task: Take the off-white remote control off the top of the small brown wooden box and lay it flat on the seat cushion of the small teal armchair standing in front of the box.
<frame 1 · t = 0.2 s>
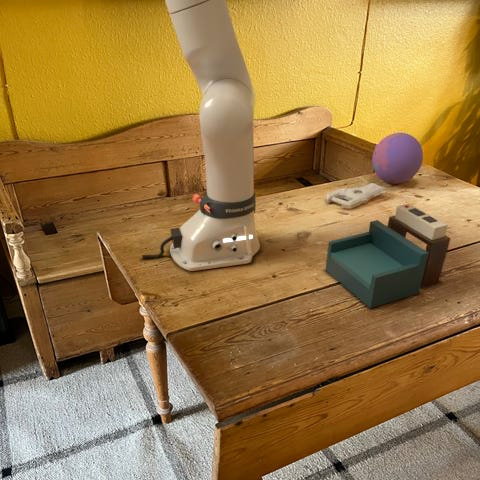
remote: (418, 227, 109), point 11 cm above the table, touching brown wooden box
decorative ball: (392, 182, 159), on the table
brown wooden box: (408, 269, 116), on the table
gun: (354, 200, 148), on the table
teal armchair: (370, 281, 112), on the table
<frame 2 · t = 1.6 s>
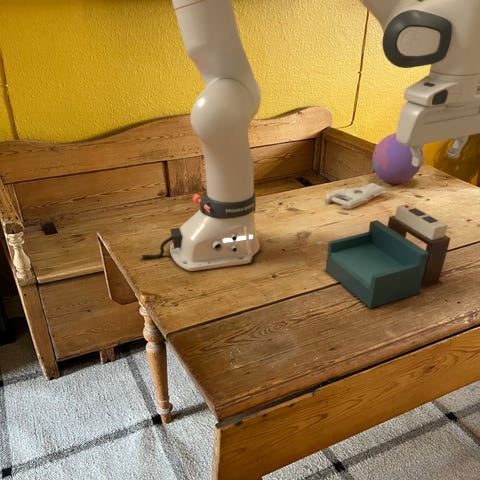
hand: (435, 161, 101), 25 cm above the table, tool pointing down, fingers open, 8 cm apart
nothing on the table moved.
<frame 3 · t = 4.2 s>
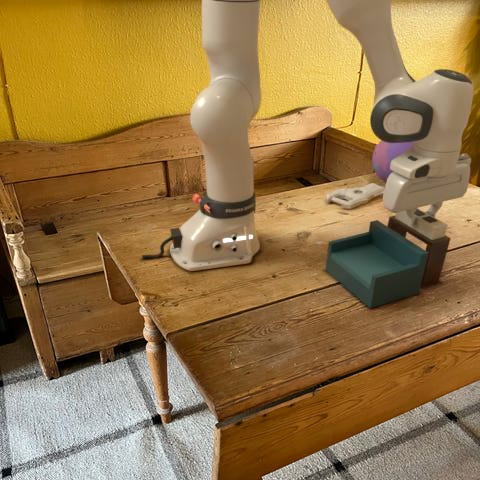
hand: (419, 222, 109), 12 cm above the table, tool pointing down, fingers closed on remote, 3 cm apart
remote: (418, 227, 109), point 11 cm above the table, touching gripper, brown wooden box
everything else where it was.
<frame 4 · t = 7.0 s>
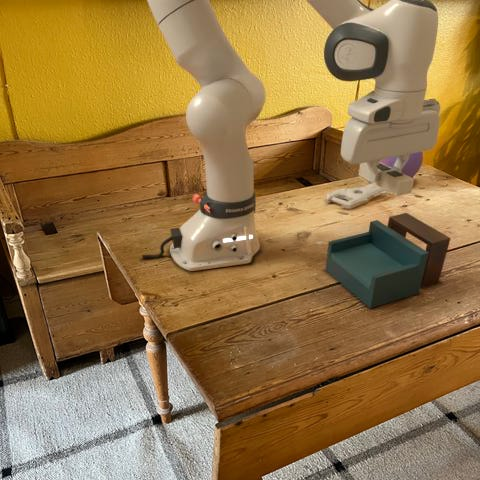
hand: (384, 178, 97), 24 cm above the table, tool pointing down, fingers closed on remote, 3 cm apart
remote: (383, 183, 98), point 23 cm above the table, touching gripper
everything else where it was.
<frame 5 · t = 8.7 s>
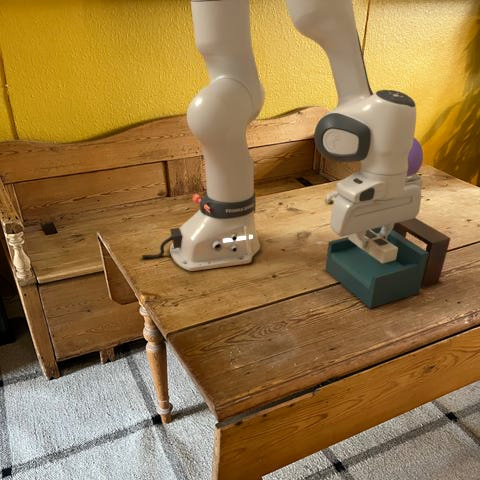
hand: (371, 244, 106), 10 cm above the table, tool pointing down, fingers closed on remote, 3 cm apart
remote: (371, 249, 106), point 9 cm above the table, touching gripper
everything else where it was.
when the fingers open (6 cm above the table, at t = 10.0 s): remote stays where it is, resting on teal armchair.
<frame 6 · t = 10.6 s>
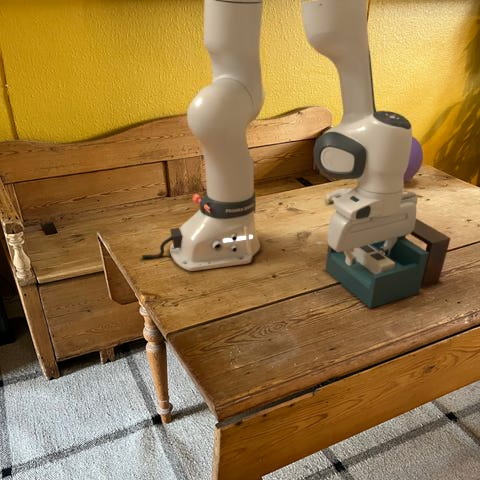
hand: (367, 259, 108), 6 cm above the table, tool pointing down, fingers open, 8 cm apart
remote: (368, 263, 108), point 5 cm above the table, touching teal armchair
everything else where it was.
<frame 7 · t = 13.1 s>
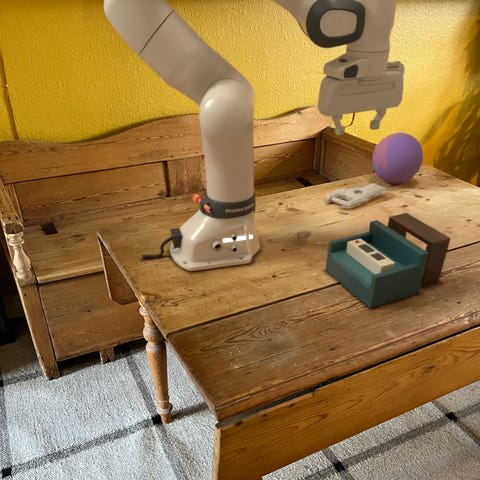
hand: (357, 131, 113), 27 cm above the table, tool pointing down, fingers open, 8 cm apart
nothing on the table moved.
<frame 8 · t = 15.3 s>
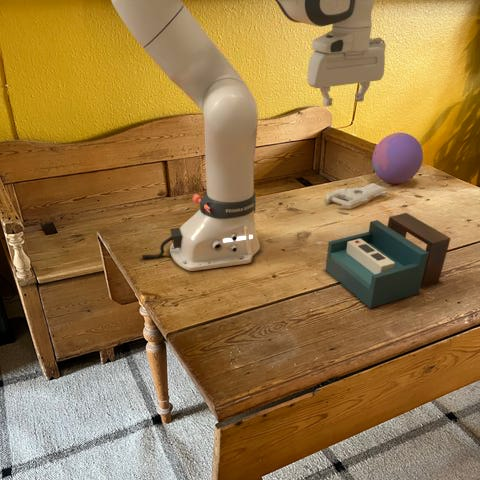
hand: (343, 103, 124), 29 cm above the table, tool pointing down, fingers open, 8 cm apart
nothing on the table moved.
at the end: remote inside the target area on the teal armchair (0.4 cm from its centre), point 5.2 cm above the teal armchair's base; remote tilted 0°; the gripper is holding nothing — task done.
